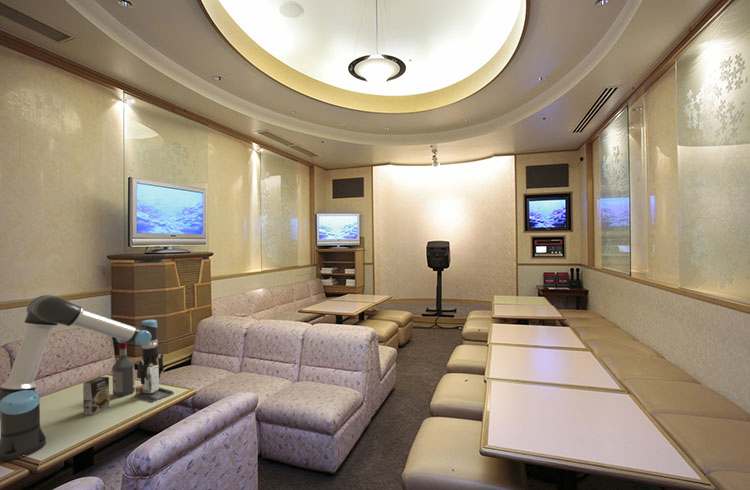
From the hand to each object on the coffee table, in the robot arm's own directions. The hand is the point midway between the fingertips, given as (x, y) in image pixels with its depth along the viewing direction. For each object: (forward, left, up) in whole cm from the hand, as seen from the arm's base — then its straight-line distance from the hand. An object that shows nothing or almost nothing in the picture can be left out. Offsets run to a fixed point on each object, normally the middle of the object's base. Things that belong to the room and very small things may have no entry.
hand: (150, 386), depth 200 cm
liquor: (-6, +16, -5) cm, 18 cm away
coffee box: (-24, +6, -5) cm, 25 cm away
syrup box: (0, 0, -3) cm, 3 cm away
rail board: (0, -3, -4) cm, 5 cm away
